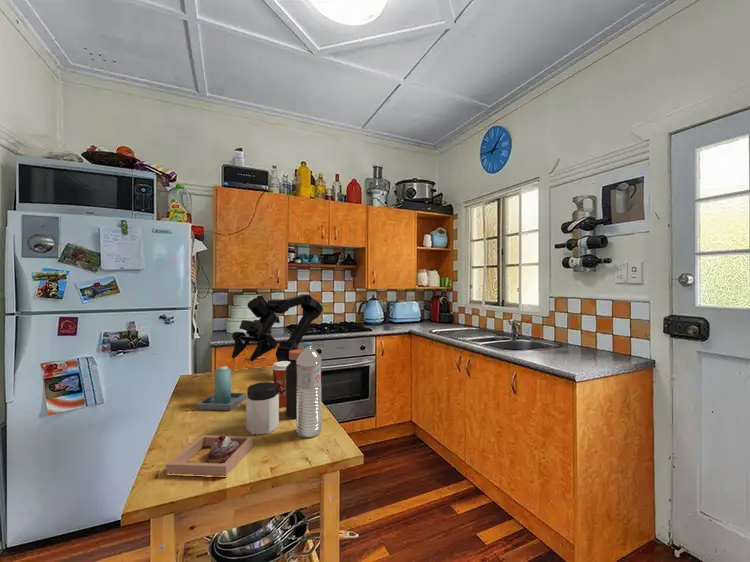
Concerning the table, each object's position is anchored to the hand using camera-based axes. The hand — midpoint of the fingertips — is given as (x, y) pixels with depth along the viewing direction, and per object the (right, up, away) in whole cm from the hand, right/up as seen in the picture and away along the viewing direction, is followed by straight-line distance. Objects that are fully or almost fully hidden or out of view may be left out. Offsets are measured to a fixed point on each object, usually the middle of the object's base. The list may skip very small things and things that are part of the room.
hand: (241, 359), depth 120 cm
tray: (-4, -14, -7) cm, 16 cm away
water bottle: (+30, -14, -28) cm, 44 cm away
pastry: (+12, -14, -40) cm, 44 cm away
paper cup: (+17, -14, -7) cm, 23 cm away
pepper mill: (-4, -13, -7) cm, 15 cm away
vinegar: (+24, -14, -16) cm, 32 cm away
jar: (+16, -14, -25) cm, 33 cm away
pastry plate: (+10, -14, -42) cm, 45 cm away
